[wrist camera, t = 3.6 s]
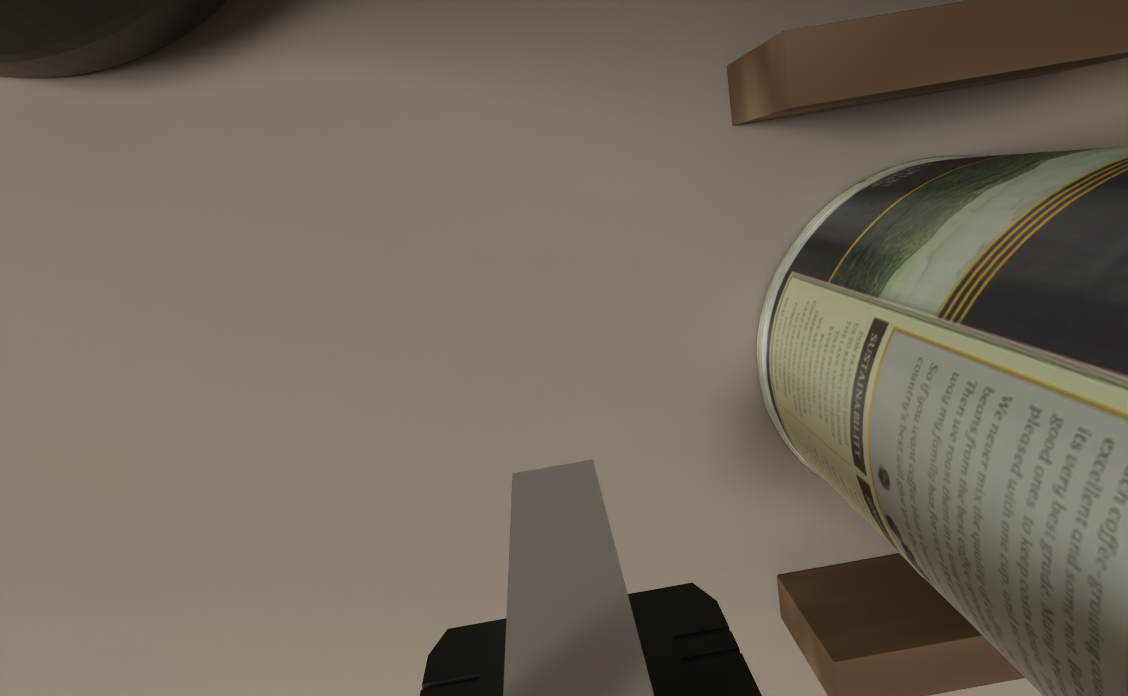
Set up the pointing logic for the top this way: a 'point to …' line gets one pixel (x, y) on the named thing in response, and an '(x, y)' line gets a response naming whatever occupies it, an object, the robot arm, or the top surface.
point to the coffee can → (975, 390)
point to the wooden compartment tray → (865, 75)
